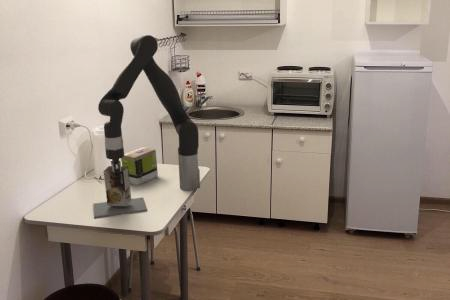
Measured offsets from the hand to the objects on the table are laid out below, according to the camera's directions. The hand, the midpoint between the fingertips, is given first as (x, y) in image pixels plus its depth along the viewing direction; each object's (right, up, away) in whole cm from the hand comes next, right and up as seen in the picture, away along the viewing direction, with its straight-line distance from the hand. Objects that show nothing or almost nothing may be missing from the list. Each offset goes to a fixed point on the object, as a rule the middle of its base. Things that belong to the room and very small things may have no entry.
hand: (117, 182), depth 208 cm
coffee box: (0, -9, +3) cm, 10 cm away
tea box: (+4, -1, +37) cm, 37 cm away
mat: (0, -11, +3) cm, 12 cm away
